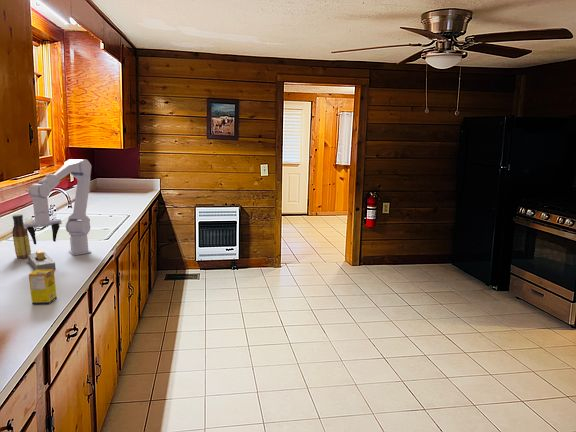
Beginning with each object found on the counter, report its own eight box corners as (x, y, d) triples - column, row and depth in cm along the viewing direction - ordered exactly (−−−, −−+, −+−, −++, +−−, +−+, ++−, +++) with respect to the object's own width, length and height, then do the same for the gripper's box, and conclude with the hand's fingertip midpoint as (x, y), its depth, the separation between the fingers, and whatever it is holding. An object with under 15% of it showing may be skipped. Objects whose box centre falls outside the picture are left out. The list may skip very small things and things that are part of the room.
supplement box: (57, 298, 172) (54, 268, 170) (49, 304, 166) (46, 273, 164) (39, 298, 172) (36, 268, 169) (31, 304, 166) (28, 274, 164)
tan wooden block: (37, 264, 213) (35, 251, 211) (43, 263, 214) (41, 250, 213) (39, 266, 210) (37, 253, 208) (45, 265, 211) (43, 252, 210)
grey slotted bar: (27, 260, 218) (27, 254, 218) (44, 258, 223) (44, 251, 222) (37, 272, 201) (36, 265, 201) (55, 269, 205) (55, 262, 205)
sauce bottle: (27, 254, 229) (23, 213, 225) (33, 256, 225) (29, 214, 221) (13, 257, 224) (7, 215, 220) (18, 259, 220) (13, 216, 216)
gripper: (24, 215, 201) (27, 247, 204) (61, 211, 209) (64, 241, 212) (21, 212, 207) (24, 243, 209) (58, 208, 215) (61, 238, 218)
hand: (44, 242), depth 211 cm, fingers open, 7 cm apart
